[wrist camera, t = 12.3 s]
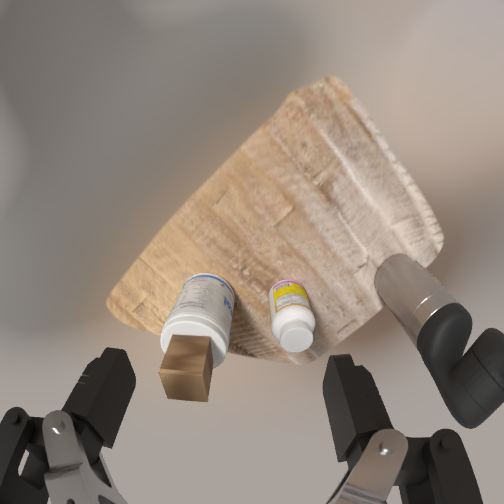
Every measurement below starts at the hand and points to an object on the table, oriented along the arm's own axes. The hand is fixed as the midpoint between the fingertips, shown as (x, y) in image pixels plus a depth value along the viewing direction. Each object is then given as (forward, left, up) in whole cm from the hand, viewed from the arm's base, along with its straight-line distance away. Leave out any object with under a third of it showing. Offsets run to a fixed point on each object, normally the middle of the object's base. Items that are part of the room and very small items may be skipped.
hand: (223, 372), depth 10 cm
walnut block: (+7, +17, -20) cm, 27 cm away
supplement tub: (+7, +17, -34) cm, 39 cm away
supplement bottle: (-7, +17, -34) cm, 39 cm away
